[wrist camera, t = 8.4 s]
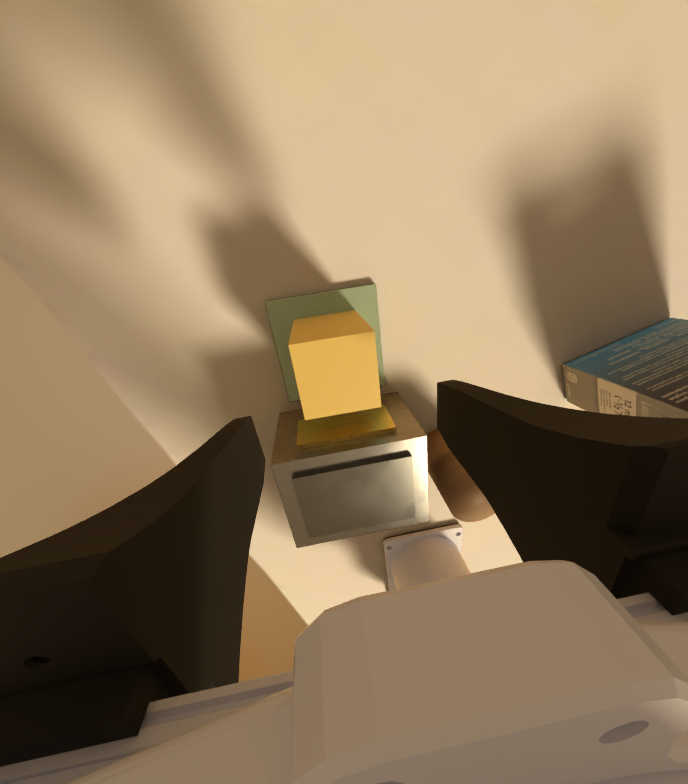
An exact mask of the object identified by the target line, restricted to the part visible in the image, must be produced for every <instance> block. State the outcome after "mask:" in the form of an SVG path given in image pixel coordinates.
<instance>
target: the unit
mask: <svg viewBox="0 0 688 784" xmlns="http://www.w3.org/2000/svg"><path fill="white" fill-rule="evenodd" d="M380 396H381V407H378V408H373V409H367V410H361V411H356V412H350V413H344V414H338V415H333V416H327V417H321V418H315V419H310V420H305V418H304V414H303V409H302V410H296V411H291V412H285V413H280V414H279V420H278V426H277V432H276V438H275V444H274V449H273V455H272V461H271V468H272V471H273V474H274V477H275V480H276V483H277V487H278V490H279V493H280V496H281V499H282V502H283V506H284V509H285V512H286V515H287V518H288V521H289V525H290V528H291V531H292V534H293V537H294V540H295V544H296V547H297V548H299V547H304V546H309V545H314V544H319V543H324V542H329V541H334V540H339V539H344V538H349V537H354V536H359V535H364V534H369V533H374V532H379V531H384V530H389V529H393V528H398V527H403V526H408V525H413V524H418V523H423V522H428V521H429V517H428V470H427V435H426V434H425V432H424V431H423V430H422V428H421V427H420V425H419V424H418V422H417V421H416V419H415V418H414V416H413V415H412V413H411V412H410V410H409V409H408V407H407V406H406V404H405V403H404V401H403V400H402V398H401V397H400V395H399V394H398V392H396V393H391V394H385V395H380Z"/></svg>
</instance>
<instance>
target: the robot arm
mask: <svg viewBox="0 0 688 784" xmlns="http://www.w3.org/2000/svg"><path fill="white" fill-rule="evenodd" d="M437 428H438V430H439V432H440V433H441V435H442V437H443V439H444V441H445V443H446V445H447V446H448V448H449V449H450V451H451V452H452V453H453V455H454V456H455V457H456V459H457V460H458V461H459V463H460V464H461V465H462V467H463V468H464V469H465V471H466V472H467V473H468V475H469V476H470V477H471V479H472V480H473V481H474V483H475V484H476V485H477V487H478V488H479V489H480V490H481V492H482V493H483V495H484V496H485V498H486V499H487V500H488V502H489V504H490V505H491V507H492V509H493V510H494V512H495V513H496V515H497V517H498V518H499V520H500V522H501V523H502V525H503V527H504V529H505V530H506V532H507V534H508V536H509V537H510V539H511V541H512V543H513V544H514V546H515V548H516V550H517V551H518V553H519V555H520V557H521V559H522V561H523V563H518V564H513V565H509V566H504V567H499V568H494V569H490V570H485V571H480V572H476V573H470V571H469V569H468V567H467V565H466V563H465V561H464V560H463V558H462V541H463V527H462V526H461V525H460V524H455V525H450V526H445V527H440V528H436V529H431V530H426V531H421V532H416V533H411V534H406V535H401V536H396V537H391V538H387V539H385V540H384V541H383V545H384V553H385V561H386V570H387V578H388V586H389V591H385V592H381V593H376V594H371V595H366V596H362V597H358V598H355V599H353V600H350V601H348V602H345V603H342V604H340V605H337V606H335V607H332V608H329V609H327V610H325V611H324V612H322V613H321V614H320V615H319V616H318V617H317V618H316V619H315V620H314V621H313V622H312V623H311V624H310V625H309V626H308V627H307V628H306V629H305V630H304V631H303V632H302V633H301V634H300V635H299V636H298V637H297V638H296V644H295V654H294V670H293V671H289V672H284V673H280V674H275V675H271V676H266V677H262V678H257V679H253V680H248V681H243V682H239V683H238V679H239V657H240V642H241V629H242V614H243V603H244V592H245V582H246V573H247V564H248V555H249V548H250V542H251V537H252V532H253V528H254V523H255V519H256V515H257V510H258V506H259V501H260V497H261V492H262V487H263V482H264V470H265V458H264V454H263V451H262V448H261V445H260V442H259V439H258V436H257V433H256V430H255V426H254V423H253V420H252V417H251V416H248V417H242V418H237V419H234V420H232V421H231V422H230V423H228V424H227V425H226V426H224V427H223V428H222V429H221V430H220V431H219V432H217V433H216V434H215V435H214V436H213V437H211V438H210V439H209V440H208V441H207V442H206V443H204V444H203V445H202V446H201V447H200V448H198V449H197V450H196V451H195V452H193V453H192V454H191V455H189V456H188V457H187V458H186V459H184V460H183V461H182V462H180V463H179V464H178V465H177V466H175V467H174V468H173V469H171V470H170V471H168V472H167V473H165V474H164V475H162V476H161V477H159V478H158V479H156V480H155V481H154V482H152V483H150V484H149V485H147V486H146V487H144V488H142V489H141V490H139V491H138V492H135V493H134V494H132V495H130V496H128V497H127V498H125V499H123V500H122V501H120V502H118V503H116V504H115V505H113V506H111V507H109V508H108V509H106V510H104V511H102V512H100V513H98V514H96V515H94V516H92V517H90V518H88V519H86V520H85V521H82V522H80V523H78V524H76V525H74V526H72V527H70V528H68V529H66V530H63V531H61V532H59V533H57V534H55V535H52V536H50V537H48V538H46V539H43V540H41V541H39V542H36V543H34V544H32V545H30V546H27V547H25V548H22V549H20V550H18V551H15V552H13V553H11V554H8V555H6V556H4V557H1V558H0V784H688V418H658V417H641V416H626V415H615V414H605V413H597V412H589V411H581V410H574V409H568V408H562V407H557V406H551V405H546V404H541V403H537V402H532V401H528V400H524V399H520V398H516V397H513V396H509V395H505V394H502V393H499V392H495V391H492V390H489V389H485V388H482V387H479V386H476V385H472V384H469V383H465V382H461V381H457V380H449V381H443V382H438V383H437Z"/></svg>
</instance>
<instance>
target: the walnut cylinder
mask: <svg viewBox="0 0 688 784" xmlns="http://www.w3.org/2000/svg"><path fill="white" fill-rule="evenodd" d="M427 470H428V472H429V474H430V476H431V478H432V479H433V481H434V483H435V485H436V486H437V488H438V490H439V492H440V494H441V495H442V497H443V499H444V501H445V502H446V504H447V506H448V508H449V509H450V511H451V513H452V514H453V516H454V517H455V518H457V519H459V520H461V521H465V522H475V521H480V520H483V519H485V518H488V517H490V516H491V515H493V514H494V513H495V512H494V510H493V509H492V507H491V505H490V504H489V502H488V500H487V499H486V498H485V496H484V495H483V493H482V492H481V490H480V489H479V488H478V487H477V485H476V484H475V483H474V481H473V480H472V479H471V477H470V476H469V475H468V473H467V472H466V471H465V469H464V468H463V467H462V465H461V464H460V463H459V461H458V460H457V459H456V457H455V456H454V455H453V453H452V452H451V451H450V449H449V448H448V446H447V445H446V443H445V441H444V439H443V437H442V435H441V433H440V432H439V430H438V429H436V430H434V431H432V432H430V433H429V434H427Z"/></svg>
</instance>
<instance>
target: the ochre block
mask: <svg viewBox="0 0 688 784" xmlns="http://www.w3.org/2000/svg"><path fill="white" fill-rule="evenodd" d="M288 346H289V350H290V355H291V359H292V364H293V368H294V373H295V377H296V382H297V387H298V391H299V396H300V400H301V405H302V409H303V414H304V418H305V420H310V419H315V418H321V417H327V416H333V415H338V414H344V413H350V412H356V411H361V410H367V409H373V408H378V407H381V396H380V385H379V373H378V362H377V351H376V339H375V331H374V330H373V329H372V328H371V327H370V325H369V324H368V323H367V322H366V321H365V320H364V319H363V318H362V317H361V316H360V315H359V314H358V313H357V311H356V310H352V311H346V312H339V313H333V314H326V315H320V316H314V317H307V318H301V319H295V320H293V325H292V330H291V335H290V339H289V344H288Z"/></svg>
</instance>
